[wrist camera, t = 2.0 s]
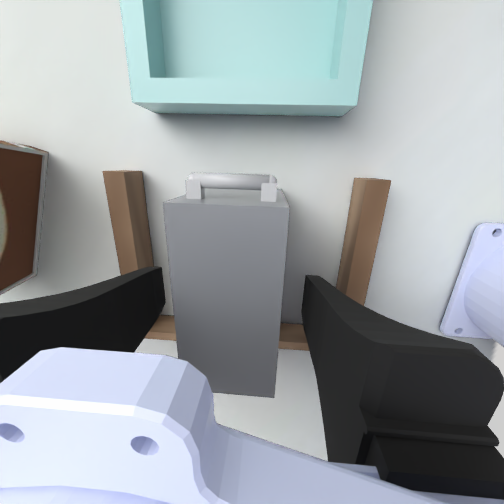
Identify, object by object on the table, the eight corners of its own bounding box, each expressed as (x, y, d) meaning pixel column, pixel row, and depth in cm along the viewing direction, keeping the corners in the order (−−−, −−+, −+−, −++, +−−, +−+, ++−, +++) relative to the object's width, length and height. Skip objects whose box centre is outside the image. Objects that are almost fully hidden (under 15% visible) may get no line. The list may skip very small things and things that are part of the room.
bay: (375, 178, 14) (391, 180, 12) (344, 334, 18) (353, 354, 16) (123, 170, 15) (102, 171, 13) (145, 320, 19) (131, 337, 17)
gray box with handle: (282, 172, 14) (292, 177, 8) (273, 312, 18) (274, 397, 11) (209, 169, 15) (159, 172, 8) (213, 308, 18) (181, 389, 12)
